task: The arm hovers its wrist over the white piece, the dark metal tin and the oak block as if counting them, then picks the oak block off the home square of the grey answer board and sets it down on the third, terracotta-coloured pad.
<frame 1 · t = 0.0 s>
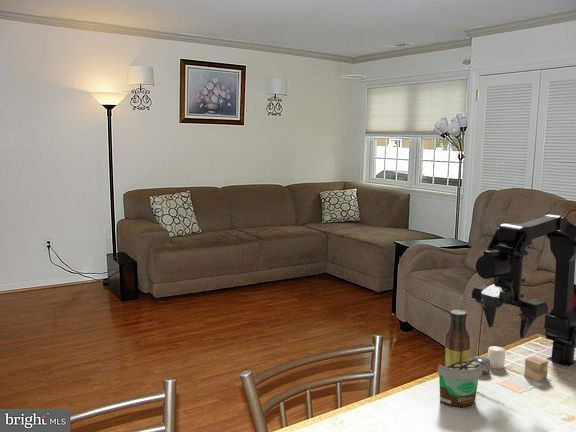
hand: (505, 332, 137), 15 cm above the table, tool pointing down, fingers open, 9 cm apart
sauce bottle: (456, 384, 139), on the table
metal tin: (479, 373, 146), on the table
answer board: (524, 383, 140), on the table
white piece: (495, 367, 150), on the table
oak block: (535, 377, 142), point 1 cm above the table, touching answer board
food container: (463, 404, 129), on the table
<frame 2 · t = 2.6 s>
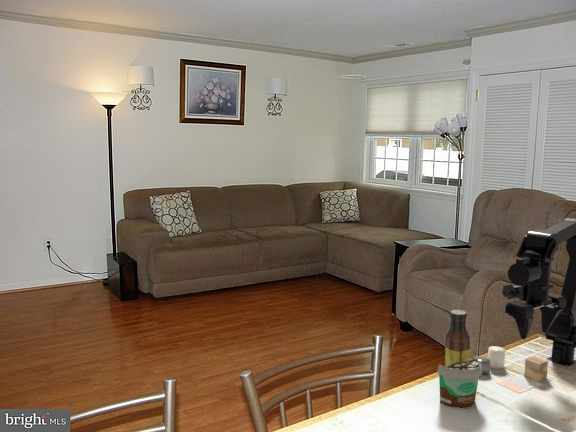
hand: (533, 335, 141), 12 cm above the table, tool pointing down, fingers open, 9 cm apart
nothing on the table moved.
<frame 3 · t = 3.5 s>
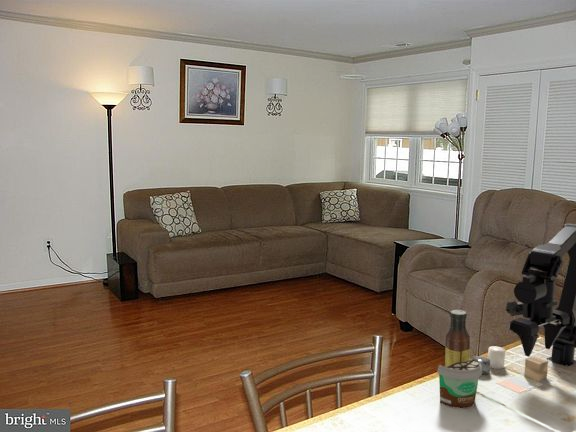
hand: (537, 352, 141), 8 cm above the table, tool pointing down, fingers open, 9 cm apart
nothing on the table moved.
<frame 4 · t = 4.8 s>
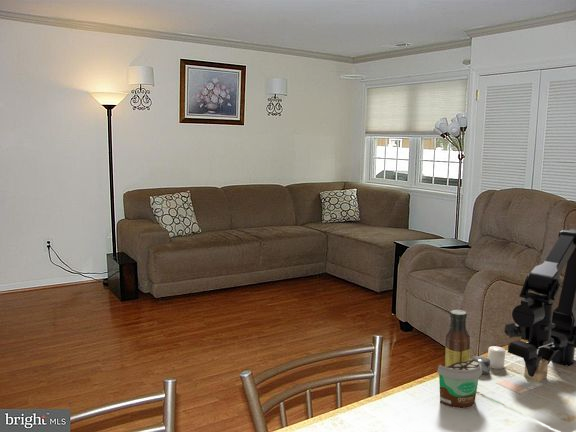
hand: (535, 374, 142), 2 cm above the table, tool pointing down, fingers closed on oak block, 4 cm apart
oak block: (535, 377, 142), point 1 cm above the table, touching answer board, gripper
everything else where it was.
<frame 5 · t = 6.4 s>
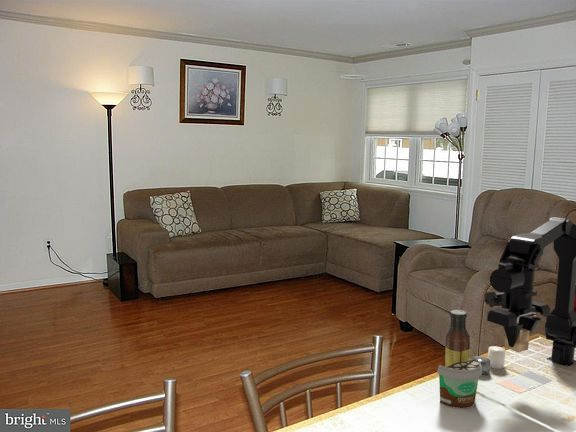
hand: (516, 345, 135), 12 cm above the table, tool pointing down, fingers closed on oak block, 4 cm apart
oak block: (516, 348, 135), point 11 cm above the table, touching gripper
everything else where it was.
when the fingers open (3 cm above the table, at t = 8.4 s): oak block drops 1 cm, resting on answer board.
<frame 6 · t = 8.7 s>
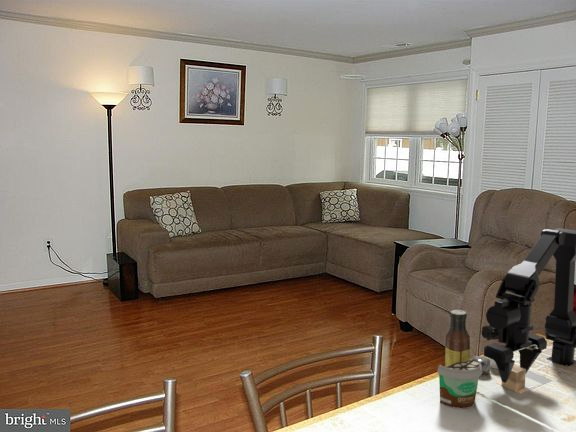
hand: (513, 378, 137), 3 cm above the table, tool pointing down, fingers open, 8 cm apart
oak block: (513, 386, 137), point 1 cm above the table, touching answer board
everything else where it was.
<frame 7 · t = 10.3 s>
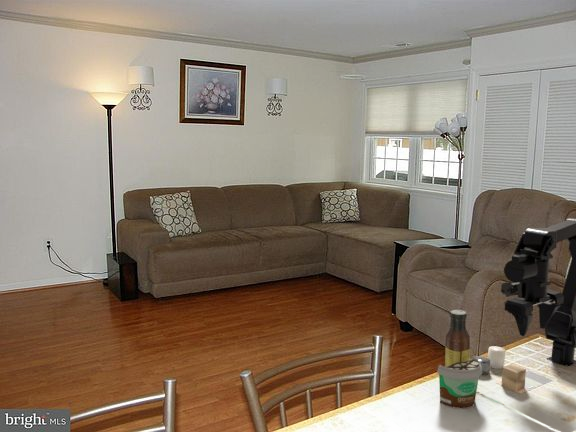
hand: (532, 331, 143), 13 cm above the table, tool pointing down, fingers open, 9 cm apart
nothing on the table moved.
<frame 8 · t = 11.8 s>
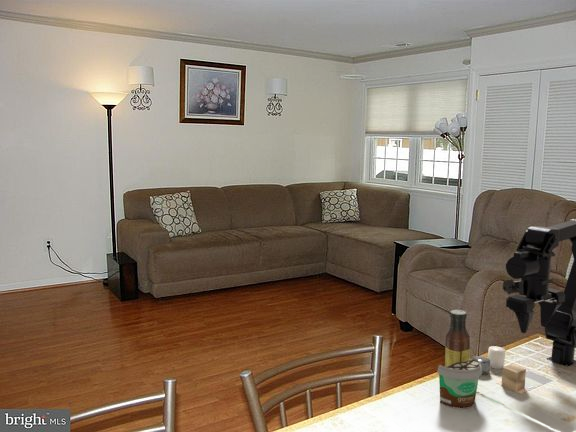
hand: (533, 329, 143), 13 cm above the table, tool pointing down, fingers open, 9 cm apart
nothing on the table moved.
at the end: oak block 0.2 cm from the target spot, point 0.6 cm above the table; the gripper is holding nothing; white piece moved 0.1 cm from its start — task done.
